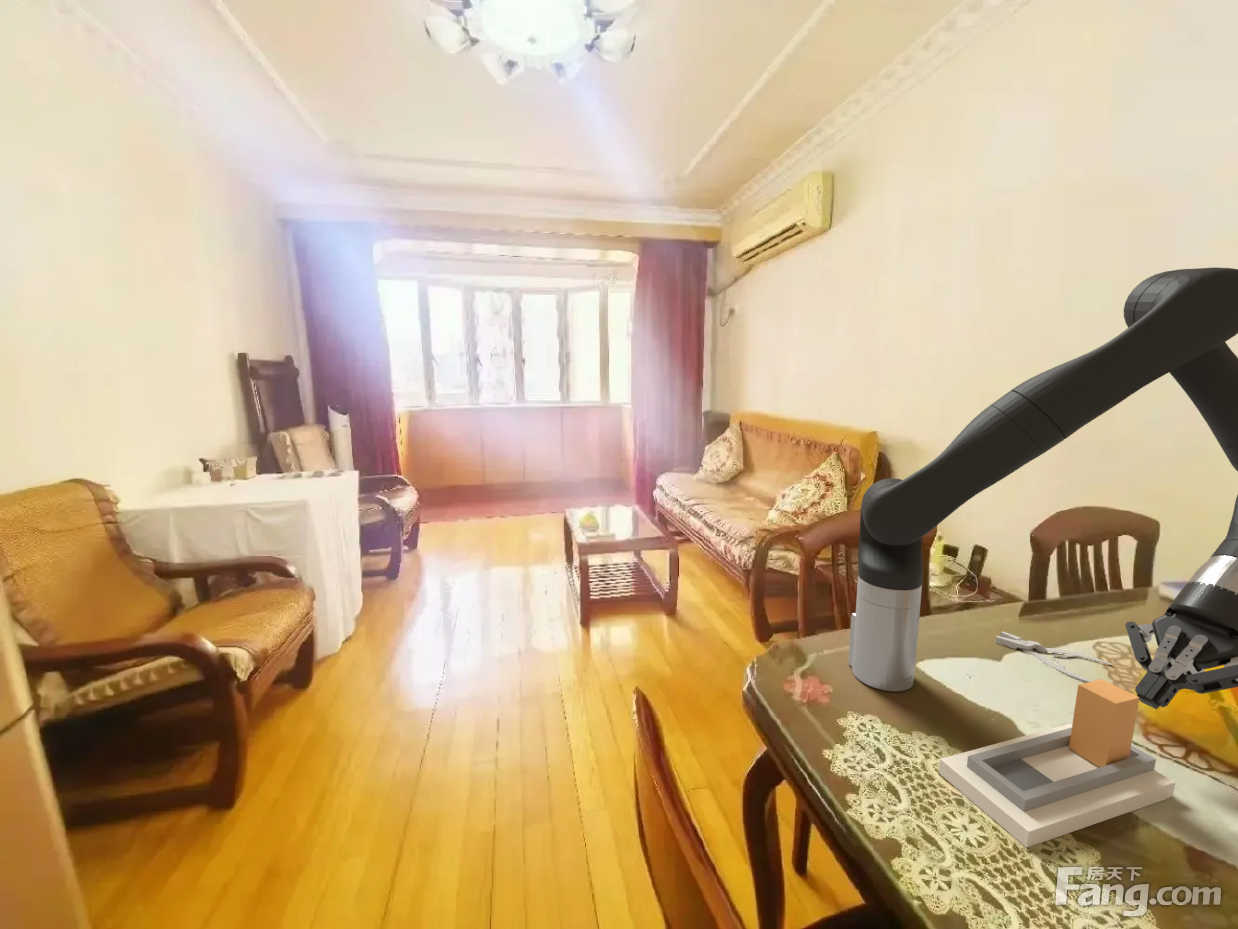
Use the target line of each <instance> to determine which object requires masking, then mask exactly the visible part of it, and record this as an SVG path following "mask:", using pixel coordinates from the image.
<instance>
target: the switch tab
mask: <svg viewBox="0 0 1238 929" xmlns="http://www.w3.org/2000/svg"><path fill="white" fill-rule="evenodd" d="M1139 703H1140V700H1139V697H1137V695H1136V694H1133V693H1131V692H1129V691H1127V690H1125V689H1123V688H1121V687H1118V686H1116V685H1114V684H1112V683H1111V682H1108V681H1106V680H1104V679H1102V678H1100V679H1096V680H1092V681H1091V682H1087V683H1085V682H1082V683H1080V684H1078V685H1077V690H1076V698H1075V705H1074V712H1073V717H1072V723H1073V724H1072V730H1071V737H1070V744H1069V748H1070V749H1071V750H1073V751H1074V752H1076V753H1078V754H1079V755H1081V756H1082V757H1084V758H1086V759H1087V760H1089V761H1090V762H1092V763H1094V764H1095V765H1097V766H1098V767H1104V766H1107V765H1110V764H1113V763H1116V762H1120V761H1123V760H1126V759H1129V755H1130V749H1131V745H1132V742H1133V738H1134V732H1135V727H1136V726H1135V725H1136V720H1137V714H1138V709H1139Z"/></svg>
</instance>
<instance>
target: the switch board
mask: <svg viewBox="0 0 1238 929" xmlns="http://www.w3.org/2000/svg"><path fill="white" fill-rule="evenodd" d="M1072 724H1073V722H1070V723H1067V724H1063V725H1060V726H1057V727H1052V728H1049V729H1046V730H1042V731H1041V730H1040V731H1039V732H1034V733H1031V734H1027V735H1023V736H1020V737H1015V738H1012V739H1008V740H1005V741H1001V742H998V743H997V742H996V743H994V744H990V745H986V746H983V747H980V748H976V749H972V750H967V751H964V752H961V753H957V754H954V755H949V756H946V757H942V758H940V759H939V766H938V774H940V776H942V777H943V778H944V779H945V780H947V781H948V782H949V783H950V784H951V785H953V786H954V787H955V788H956V789H957V790H958V791H959V792H960V793H961V794H962V795H964V796H965V797H966V798H967V799H968V800H970V802H972V803H973V804H974V805H976V806H977V807H978V808H979V809H980V810H982V811H983V812H984V813H985V814H986V815H987V816H989V817H990V818H991V819H992V820H993V821H994V822H995V823H997V824H998V825H999V826H1000V827H1002V828H1003V829H1004V830H1005V831H1006V832H1007V833H1009V835H1011V836H1012V837H1013V838H1014V839H1016V840H1017V841H1018V842H1019V843H1021V844H1022V845H1023V846H1024V847H1025V848H1030V847H1033V846H1036V845H1039V844H1041V843H1044V842H1047V841H1050V840H1052V839H1055V838H1059V837H1062V836H1064V835H1067V834H1070V833H1073V832H1075V831H1079V830H1081V829H1084V828H1088V827H1089V826H1094V825H1095V824H1099V823H1101V822H1104V821H1108V820H1110V819H1113V818H1117V817H1120V816H1122V815H1126V814H1127V813H1130V812H1134V811H1136V810H1139V809H1141V808H1145V807H1148V806H1150V805H1154V804H1156V803H1159V802H1161V801H1165V800H1168V799H1171V798H1173V797H1174V791H1175V786H1176V781H1174V780H1173V779H1170V778H1169V777H1167V776H1165V775H1163V773H1161V772H1158V771H1157V770H1155V768H1156V764H1157V763H1156V762H1157V759H1156V757H1153V756H1152V755H1150V754H1148V753H1147V752H1145V751H1143V750H1142V749H1140V748H1137V747H1135V746H1133V745H1132V744H1131V749H1130V755H1129V759H1126V760H1123V761H1120V762H1116V763H1113V764H1110V765H1107V766H1104V767H1098V766H1097V765H1095V764H1094V763H1092V762H1090V761H1089V760H1087V759H1086V758H1084V757H1082V756H1081V755H1079V754H1078V753H1076V752H1074V751H1073V750H1071V749H1070V748H1069V744H1070V737H1071V730H1072ZM1172 796H1173V797H1172ZM1170 797H1171V798H1170Z"/></svg>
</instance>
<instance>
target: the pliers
mask: <svg viewBox="0 0 1238 929" xmlns="http://www.w3.org/2000/svg"><path fill="white" fill-rule="evenodd" d="M995 644H997V645H1001V646H1004V647H1007V648H1010V649H1013V650H1017V649H1019V650H1022V651H1023V653H1025V652H1026V653H1025V654H1027V653H1029V654H1028V655H1030V654H1031V655H1033V656H1035V657H1037V658H1038V659H1039V660H1040V661H1042V662H1043V663H1044V664H1046V665H1049V666H1051V667H1052V668H1054V669H1056V670H1057V671H1059V672H1061V673H1060V674H1062V673H1063V674H1062V675H1064V674H1065V676H1066V675H1067V676H1066V677H1069V678H1071V679H1074V678H1075V679H1074V680H1076V679H1077V681H1079V680H1080V682H1082V683H1087V682H1091V681H1093V680H1092V679H1089V678H1086V677H1084V676H1081V675H1079V674H1077V673H1074V672H1072V671H1070V670H1068V669H1066V668H1065V667H1064V666H1063V664H1062V663H1061V662H1060V661H1059V660H1057V659H1056V658H1055V657H1053V656H1057V657H1081V658H1085V659H1090V660H1094V661H1097V662H1102V663H1106V664H1109V665H1112V666H1113V663H1110V662H1108V661H1105V660H1104V659H1100V658H1096V657H1094V656H1090V655H1087V654H1083V653H1079V652H1076V651H1070V650H1066V649H1062V648H1055V647H1054V648H1053V647H1052V648H1050V647H1045V646H1043V645H1042V644H1041V643H1040V642H1038V641H1033V640H1024V639H1023V638H1022V637H1020V636H1017V635H1014V634H1011V633H1009V632H1005V631H1001V632H1000V635H996V636H995ZM1033 649H1035V650H1036V651H1038V652H1039V651H1041V652H1040V653H1043V652H1052V653H1062V654H1069V655H1058V654H1052V657H1050V658H1051V659H1053V660H1054V661H1056V662H1057V663H1058V664H1059V665H1060V666H1059V665H1058V664H1057V663H1055V662H1054V661H1052V660H1051V659H1048V658H1047V657H1046V656H1045V655H1043V654H1040V653H1038V652H1035V651H1034V650H1033ZM1031 655H1030V656H1031ZM1033 656H1032V657H1033ZM1035 657H1034V658H1035ZM1081 658H1080V659H1081ZM1038 659H1037V660H1038ZM1085 659H1084V660H1085ZM1039 660H1038V661H1039ZM1040 661H1039V662H1040ZM1043 663H1042V664H1043ZM1044 664H1043V665H1044ZM1046 665H1045V666H1046ZM1057 671H1056V672H1057ZM1059 672H1058V673H1059Z"/></svg>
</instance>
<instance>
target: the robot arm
mask: <svg viewBox="0 0 1238 929" xmlns="http://www.w3.org/2000/svg"><path fill="white" fill-rule="evenodd" d="M1123 318H1124V322H1125V325H1126V327H1127V328H1126V329H1125V330H1123V331H1122V332H1120V333H1119V334H1118V335H1117V336H1115V337H1114V338H1112V339H1111V340H1109V341H1108V342H1105V343H1104V344H1102V345H1100V346H1099V347H1097V348H1096V349H1093V350H1091V351H1089V352H1087V353H1084V354H1082V355H1080V356H1078V357H1076V358H1073V359H1071V360H1068V361H1065V362H1063V363H1061V364H1059V365H1057V366H1054V367H1052V368H1050V369H1047V370H1045V371H1042V372H1040V373H1038V374H1037V375H1035V376H1032V377H1030V378H1028V379H1027V380H1025V381H1023V382H1022V383H1019V384H1018V385H1016V386H1015V387H1014V388H1012V389H1010V390H1009V391H1008V392H1007V393H1005V394H1003V395H1002V396H1001V397H1000V398H998V399H997V400H995V401H994V402H993V403H991V404H990V405H988V406H987V407H986V408H985V409H983V410H982V411H980V413H979V414H977V415H976V416H975V417H974V418H973V419H972V420H971V421H970V422H969V423H968V424H967V425H966V426H965V427H964V428H963V429H962V431H960V432H959V434H957V435H956V436H955V438H954V439H953V440H952V441H951V442H950V444H949V445H947V446H946V448H945V449H944V450H943V451H942V452H941V453H940V454H939V455H938V456H937V457H935V458H934V459H933V460H932V461H930V462H929V463H928V464H926V465H925V466H922V468H920V469H919V470H916V471H915V472H914V473H912V474H911V475H910V476H907V477H906V478H904V479H901V478H895V477H893V478H891V477H889V478H883V479H881V480H879V481H876V482H874V483H872V485H870V486H869V487H868V488H867V490H865V493H864V494H863V497H862V499H861V504H860V515H859V516H860V518H859V534H858V535H859V536H858V538H859V539H858V561H857V562H858V566H857V568H858V571H857V585H856V586H857V587H856V589H857V590H856V603H855V612H853V613H851V615H850V628H849V629H850V630H849V631H850V632H849V648H848V662H847V664H848V665H849V666H850V667H851V668H852V670H851V671H852V673H853V676H855V678H856V679H857V680H859V681H860V682H862V683H864V684H865V685H867V686H869V687H871V688H874V689H877V690H881V691H886V692H904V691H905V692H906V691H908V690H910V689H911V688H912V687H913V685H914V678H915V671H916V670H915V669H916V668H915V667H916V659H917V651H918V650H917V646H918V639H919V638H918V637H919V636H918V635H919V625H920V613H921V600H922V588H923V577H924V564H923V553H922V552H923V548H922V547H923V537H924V536H926V535H927V534H929V532H932V530H933V529H934V528H936V527H937V526H938V525H939V524H940V523H942V522H943V521H945V519H947V517H949V516H950V515H951V514H953V513H954V512H955V511H956V510H958V509H959V508H960V507H961V506H963V505H964V504H965V503H966V502H968V501H969V500H971V499H972V498H974V497H975V496H976V495H978V494H980V493H981V492H983V491H985V490H986V489H987V490H988V488H990V487H992V486H993V485H995V484H997V483H998V482H1000V481H1002V480H1003V479H1005V478H1007V477H1008V476H1010V475H1011V474H1012V473H1014V472H1016V471H1017V470H1019V469H1021V468H1022V467H1024V466H1025V465H1026V464H1028V463H1030V462H1032V461H1033V460H1035V459H1037V458H1039V457H1040V456H1042V455H1043V454H1045V453H1046V452H1048V451H1050V450H1051V449H1053V448H1054V447H1055V446H1057V445H1058V444H1061V443H1062V442H1063V441H1065V440H1066V439H1067V438H1069V437H1071V436H1072V435H1073V434H1075V433H1076V432H1078V431H1079V430H1080V429H1082V428H1083V427H1084V426H1086V425H1088V424H1090V423H1092V421H1094V420H1095V419H1097V418H1099V417H1100V416H1102V415H1103V414H1105V413H1106V412H1108V411H1109V410H1111V409H1112V408H1114V407H1115V406H1117V405H1119V404H1120V403H1122V402H1123V401H1124V400H1126V399H1128V398H1129V397H1130V396H1132V395H1133V394H1135V393H1136V392H1138V391H1140V390H1141V389H1143V388H1144V387H1146V386H1148V385H1149V384H1151V383H1153V382H1154V381H1156V380H1158V379H1160V378H1161V377H1164V376H1165V375H1166V374H1170V375H1171V376H1172V378H1173V379H1174V380H1175V381H1176V383H1177V384H1178V385H1179V386H1180V388H1182V390H1183V392H1184V393H1185V394H1186V395H1187V397H1188V398H1189V400H1190V401H1191V402H1192V404H1193V405H1194V406H1195V408H1196V409H1197V411H1198V412H1199V414H1200V415H1201V416H1202V418H1203V420H1204V421H1205V422H1206V425H1207V426H1208V427H1209V429H1210V431H1211V432H1212V434H1213V436H1214V438H1215V439H1216V441H1217V443H1218V445H1220V447H1221V450H1222V451H1223V452H1224V454H1225V456H1226V458H1227V459H1228V461H1229V463H1230V465H1231V466H1232V467H1233V468H1234V470H1235V471H1236V472H1238V356H1237V355H1236V354H1235V352H1233V351H1232V348H1230V346H1229V345H1228V344H1227V341H1229V340H1231V339H1232V338H1233V337H1235V336H1237V335H1238V269H1237V268H1231V267H1202V268H1201V267H1200V268H1199V267H1198V268H1183V269H1182V268H1181V269H1175V270H1174V269H1173V270H1166V271H1163V272H1160V273H1156V274H1154V275H1151V276H1149V277H1147V278H1145V279H1144V280H1142V281H1141V282H1140V283H1138V284H1137V285H1136V286H1135V287H1134V288H1133V289H1132V290H1131V291H1130V293H1129V294H1128V296H1127V298H1126V300H1125V302H1124V307H1123ZM1234 502H1235V503H1234V506H1233V507H1234V508H1233V512H1232V516H1231V520H1230V522H1229V527H1228V530H1227V534H1226V536H1225V538H1224V539H1223V540H1222V541H1221V543H1220V544H1219V545H1218V546H1217V548H1216V549H1215V551H1214V552H1213V553H1212V555H1210V557H1209V558H1208V560H1206V561H1205V562H1204V563H1203V564H1202V565H1201V566H1199V568H1197V570H1195V572H1194V573H1193V575H1191V577H1190V578H1189V580H1188V581H1187V583H1185V585H1184V586H1183V588H1182V589H1181V590H1180V591H1179V593H1177V595H1176V597H1175V598H1174V599H1173V600H1172V601H1171V603H1170V604H1169V606H1168V607H1167V608H1166V611H1165V613H1164V614H1163V615H1161V616H1159V617H1157V618H1155V619H1154V620H1153V621H1152V622H1151V623H1145V624H1137V623H1136V622H1134V621H1127V622H1126V623H1125V629H1126V633H1127V636H1128V639H1129V641H1130V645H1131V649H1132V652H1133V655H1134V658H1135V660H1136V661H1137V663H1138V664H1139V665H1140V667H1141V668H1142V669H1143V670H1145V671H1146V672H1145V674H1144V676H1143V677H1142V678H1141V679H1140V681H1139V682H1138V684H1137V685H1136V686H1135V690H1134V692H1136V696H1137V697H1139V702H1140V703H1142V704H1144V705H1146V706H1149V707H1151V708H1152V709H1154V710H1158V709H1159V708H1160V707H1161V708H1165V707H1167V706H1169V705H1170V703H1171V701H1173V699H1174V697H1175V696H1176V695H1177V693H1179V691H1181V690H1190V691H1194V692H1195V693H1197V694H1202V695H1203V694H1204V695H1205V694H1207V693H1213V692H1219V691H1224V690H1229V689H1233V688H1238V494H1236V498H1235V501H1234ZM1153 635H1154V636H1155V637H1154V638H1155V641H1156V645H1157V648H1156V650H1155V653H1154V654H1155V656H1154V657H1153V658H1152V655H1151V652H1150V649H1149V647H1148V643H1150V642H1151V640H1152V637H1153ZM1222 666H1223V667H1222ZM1217 667H1220V668H1217ZM1213 668H1215V669H1213ZM1206 670H1207V671H1206Z"/></svg>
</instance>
